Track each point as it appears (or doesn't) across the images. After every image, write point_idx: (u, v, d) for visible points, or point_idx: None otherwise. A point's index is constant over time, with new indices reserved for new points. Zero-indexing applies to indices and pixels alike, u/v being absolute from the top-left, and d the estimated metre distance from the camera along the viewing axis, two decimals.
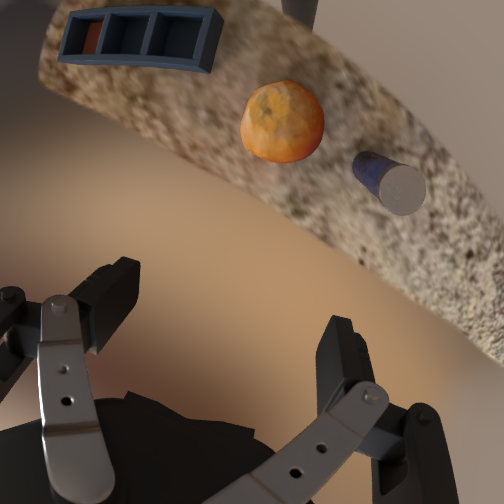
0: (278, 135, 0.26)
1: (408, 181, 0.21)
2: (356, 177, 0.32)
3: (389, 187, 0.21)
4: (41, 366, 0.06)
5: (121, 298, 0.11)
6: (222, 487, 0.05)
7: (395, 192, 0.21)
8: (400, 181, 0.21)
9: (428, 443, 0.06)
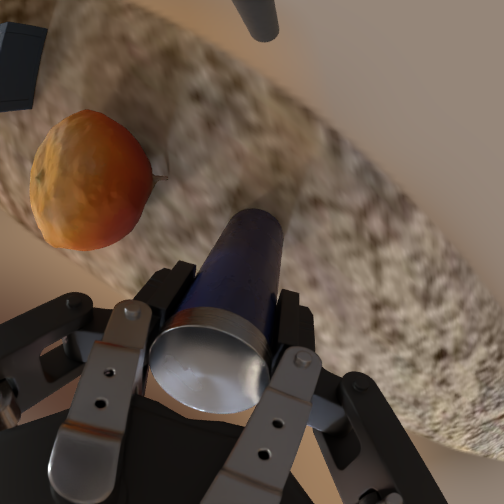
0: (50, 217, 0.14)
1: (214, 359, 0.09)
2: None
3: (170, 367, 0.09)
4: (89, 364, 0.06)
5: None
6: None
7: (187, 377, 0.09)
8: (194, 358, 0.09)
9: (372, 412, 0.07)
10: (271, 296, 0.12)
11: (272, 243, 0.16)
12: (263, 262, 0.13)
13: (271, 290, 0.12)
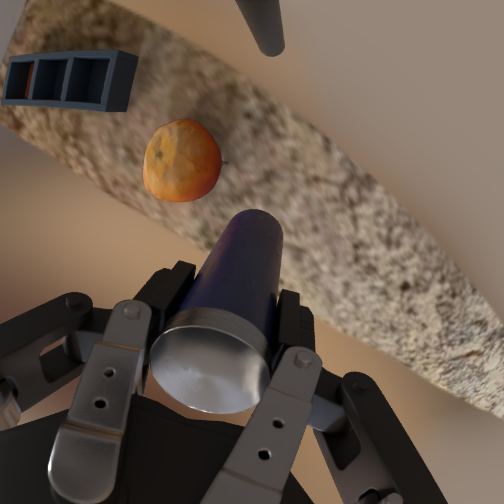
0: (167, 178, 0.27)
1: (215, 359, 0.09)
2: None
3: (171, 367, 0.09)
4: (89, 364, 0.06)
5: None
6: None
7: (188, 377, 0.09)
8: (194, 358, 0.09)
9: (373, 412, 0.07)
10: (271, 296, 0.12)
11: (272, 244, 0.16)
12: (263, 262, 0.13)
13: (271, 290, 0.12)
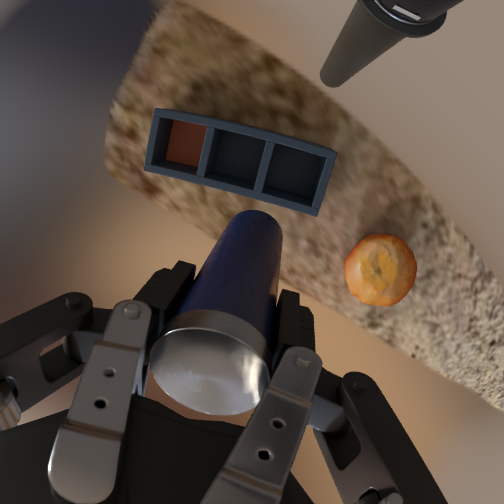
0: (384, 293, 0.30)
1: (215, 361, 0.09)
2: None
3: (171, 369, 0.09)
4: (89, 364, 0.06)
5: (181, 301, 0.12)
6: None
7: (188, 379, 0.09)
8: (194, 360, 0.09)
9: (373, 412, 0.07)
10: (271, 298, 0.12)
11: (272, 245, 0.16)
12: (262, 263, 0.13)
13: (271, 292, 0.12)
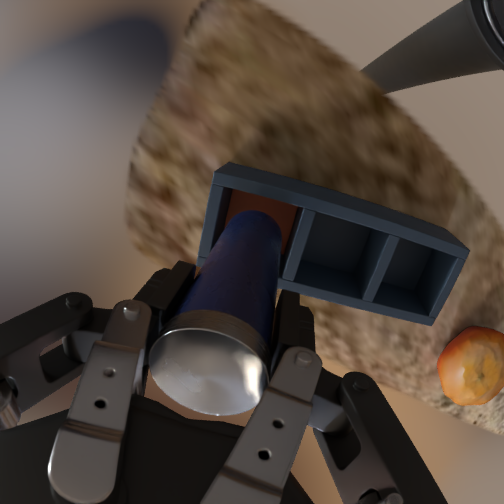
0: (482, 396, 0.21)
1: (213, 361, 0.09)
2: None
3: (170, 369, 0.09)
4: (88, 364, 0.06)
5: None
6: None
7: (187, 379, 0.09)
8: (193, 361, 0.09)
9: (373, 412, 0.07)
10: (270, 298, 0.12)
11: (271, 245, 0.16)
12: (262, 264, 0.13)
13: (270, 292, 0.12)
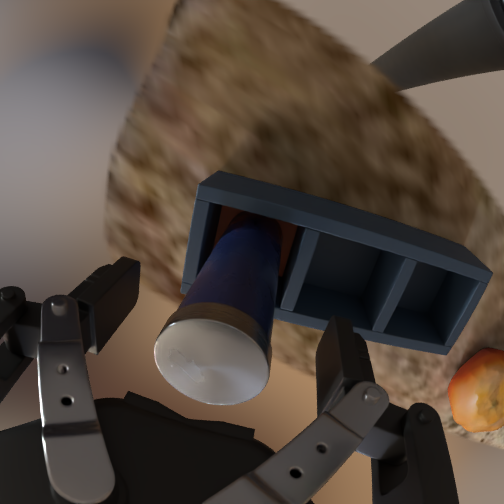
0: (495, 423, 0.18)
1: (216, 351, 0.09)
2: None
3: (174, 360, 0.10)
4: (41, 366, 0.06)
5: (121, 298, 0.11)
6: (222, 487, 0.05)
7: (191, 369, 0.10)
8: (197, 351, 0.09)
9: (428, 443, 0.06)
10: (270, 293, 0.13)
11: (272, 243, 0.16)
12: (262, 260, 0.14)
13: (270, 287, 0.13)
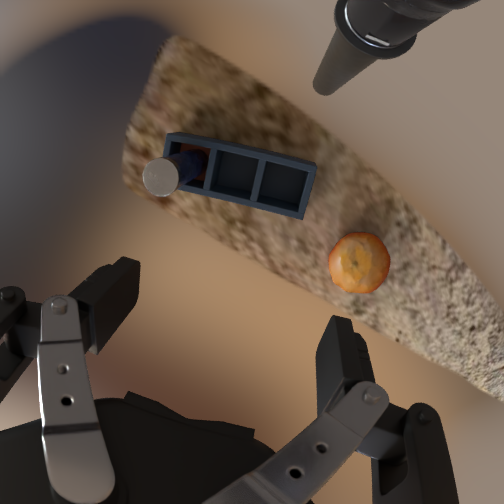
0: (362, 281, 0.37)
1: (162, 169, 0.29)
2: None
3: (149, 176, 0.29)
4: (41, 366, 0.06)
5: (121, 298, 0.11)
6: (222, 487, 0.05)
7: (154, 179, 0.29)
8: (156, 170, 0.29)
9: (428, 443, 0.06)
10: (187, 164, 0.32)
11: (196, 156, 0.36)
12: (187, 156, 0.33)
13: (188, 163, 0.32)
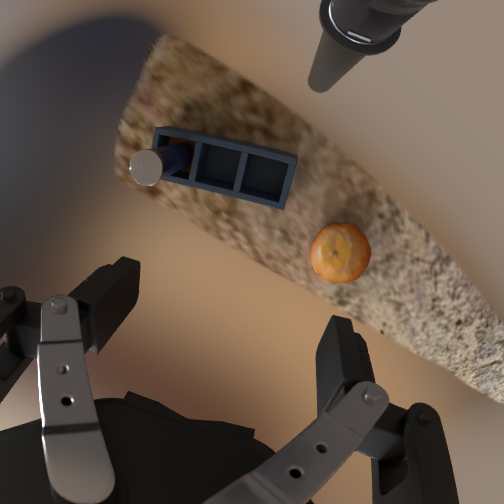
0: (341, 271, 0.39)
1: (147, 160, 0.30)
2: None
3: (135, 167, 0.31)
4: (41, 366, 0.06)
5: (121, 298, 0.11)
6: (222, 487, 0.05)
7: (140, 169, 0.31)
8: (142, 161, 0.30)
9: (428, 443, 0.06)
10: (172, 155, 0.34)
11: (182, 148, 0.37)
12: (173, 148, 0.35)
13: (173, 154, 0.34)
